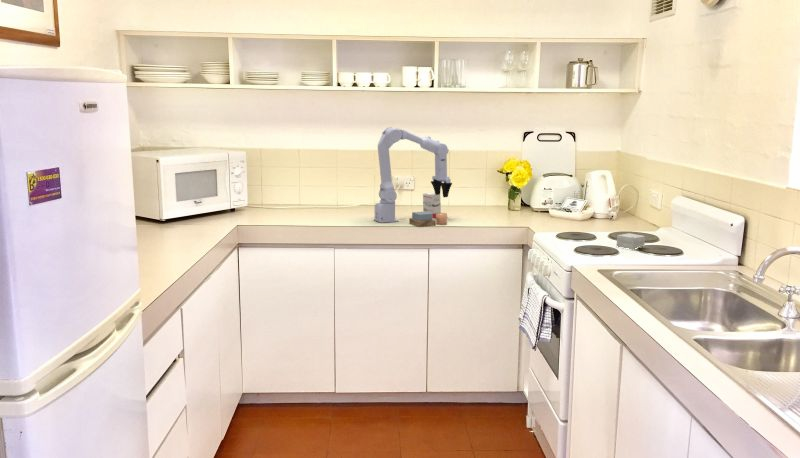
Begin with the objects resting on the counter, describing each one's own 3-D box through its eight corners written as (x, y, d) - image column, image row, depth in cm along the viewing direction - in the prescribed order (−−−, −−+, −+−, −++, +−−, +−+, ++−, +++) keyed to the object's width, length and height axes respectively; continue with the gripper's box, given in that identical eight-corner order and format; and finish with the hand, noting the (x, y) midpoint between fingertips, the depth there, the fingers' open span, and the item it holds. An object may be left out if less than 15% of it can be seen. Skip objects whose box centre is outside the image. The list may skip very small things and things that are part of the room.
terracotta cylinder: (439, 225, 313) (439, 214, 312) (434, 223, 317) (434, 213, 316) (448, 224, 315) (449, 214, 314) (443, 222, 319) (443, 212, 318)
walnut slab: (418, 228, 308) (418, 221, 308) (409, 224, 316) (409, 218, 316) (435, 226, 312) (435, 220, 312) (426, 223, 320) (426, 217, 320)
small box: (627, 245, 275) (628, 232, 274) (644, 248, 269) (645, 235, 268) (615, 247, 271) (616, 234, 270) (632, 250, 265) (633, 238, 264)
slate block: (419, 221, 309) (419, 214, 309) (412, 218, 315) (412, 212, 315) (432, 220, 312) (432, 213, 312) (425, 217, 318) (425, 211, 318)
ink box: (441, 217, 334) (441, 194, 332) (433, 219, 332) (433, 195, 329) (430, 215, 341) (429, 192, 339) (422, 216, 338) (422, 193, 336)
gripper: (455, 169, 321) (456, 197, 324) (440, 166, 334) (441, 193, 337) (442, 170, 318) (443, 198, 321) (428, 167, 331) (429, 194, 334)
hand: (441, 196), depth 329 cm, fingers open, 7 cm apart
